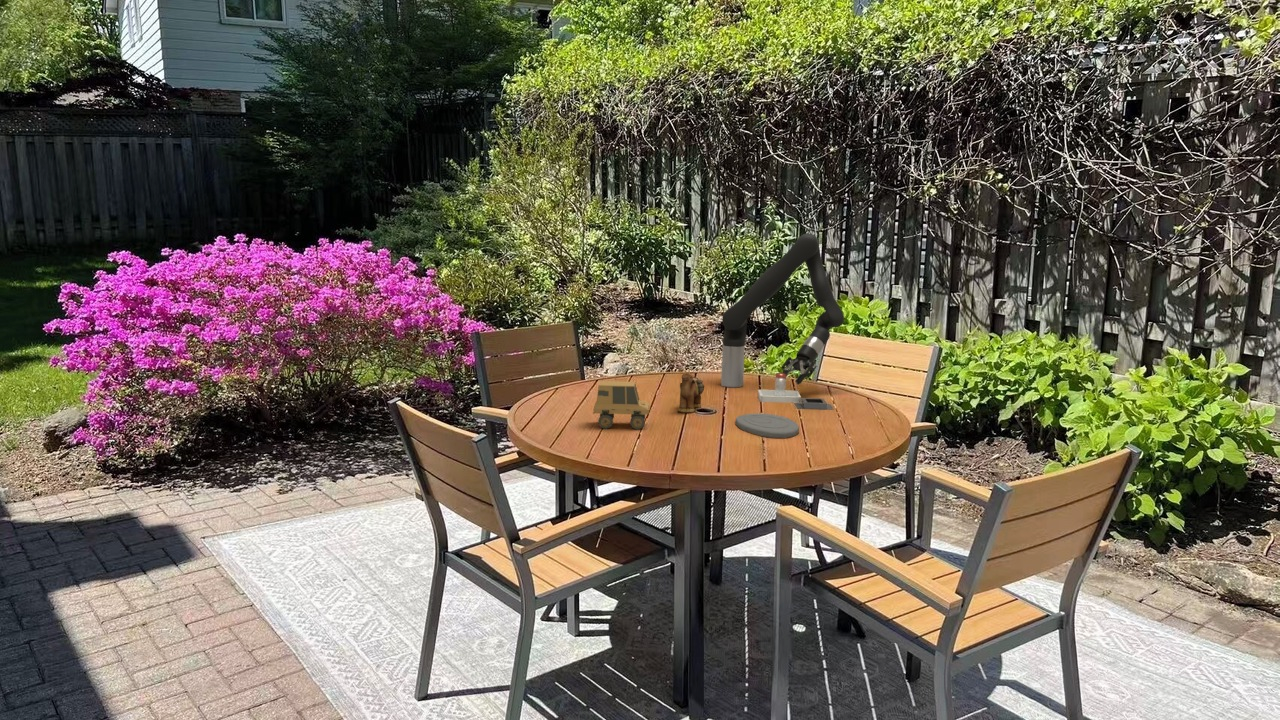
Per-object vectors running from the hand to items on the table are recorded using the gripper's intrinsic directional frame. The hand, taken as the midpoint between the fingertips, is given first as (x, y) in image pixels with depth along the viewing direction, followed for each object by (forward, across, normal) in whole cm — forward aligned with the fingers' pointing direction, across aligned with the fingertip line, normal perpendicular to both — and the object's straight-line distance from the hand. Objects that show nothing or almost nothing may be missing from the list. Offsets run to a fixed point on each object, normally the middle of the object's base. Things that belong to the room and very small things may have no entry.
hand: (789, 381), depth 347 cm
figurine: (+36, -8, -26) cm, 45 cm away
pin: (+8, 0, +1) cm, 8 cm away
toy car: (+61, -4, -50) cm, 79 cm away
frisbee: (+32, +26, -21) cm, 46 cm away
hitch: (+7, +16, +3) cm, 18 cm away
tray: (+9, 0, +2) cm, 9 cm away
